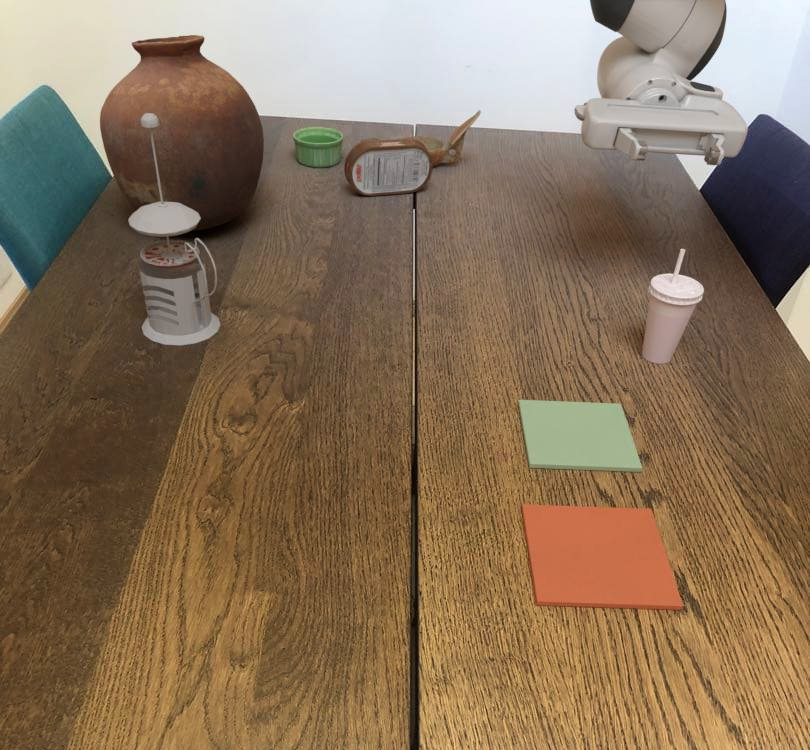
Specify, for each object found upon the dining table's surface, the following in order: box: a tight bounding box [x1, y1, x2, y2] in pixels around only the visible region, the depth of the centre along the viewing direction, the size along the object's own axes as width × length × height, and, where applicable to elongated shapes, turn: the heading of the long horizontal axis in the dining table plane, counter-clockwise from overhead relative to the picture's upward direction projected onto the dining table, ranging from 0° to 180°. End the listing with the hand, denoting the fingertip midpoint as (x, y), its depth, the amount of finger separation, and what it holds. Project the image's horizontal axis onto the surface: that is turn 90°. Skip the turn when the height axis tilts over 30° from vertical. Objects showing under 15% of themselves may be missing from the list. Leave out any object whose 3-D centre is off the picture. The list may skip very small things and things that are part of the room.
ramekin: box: [292, 126, 344, 169], centre depth 148 cm, size 9×9×4 cm
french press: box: [128, 113, 221, 346], centre depth 95 cm, size 10×12×25 cm
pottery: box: [99, 34, 265, 232], centre depth 119 cm, size 23×23×25 cm
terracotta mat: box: [520, 503, 684, 611], centre depth 77 cm, size 13×13×1 cm
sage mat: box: [517, 399, 643, 473], centre depth 91 cm, size 12×12×1 cm
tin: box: [343, 138, 434, 197], centre depth 136 cm, size 15×3×8 cm, turn 108°
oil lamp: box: [359, 110, 482, 167], centre depth 147 cm, size 9×21×10 cm, turn 80°
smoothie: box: [641, 248, 705, 365], centre depth 99 cm, size 6×6×14 cm
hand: (678, 156), depth 97 cm, fingers open, 8 cm apart
